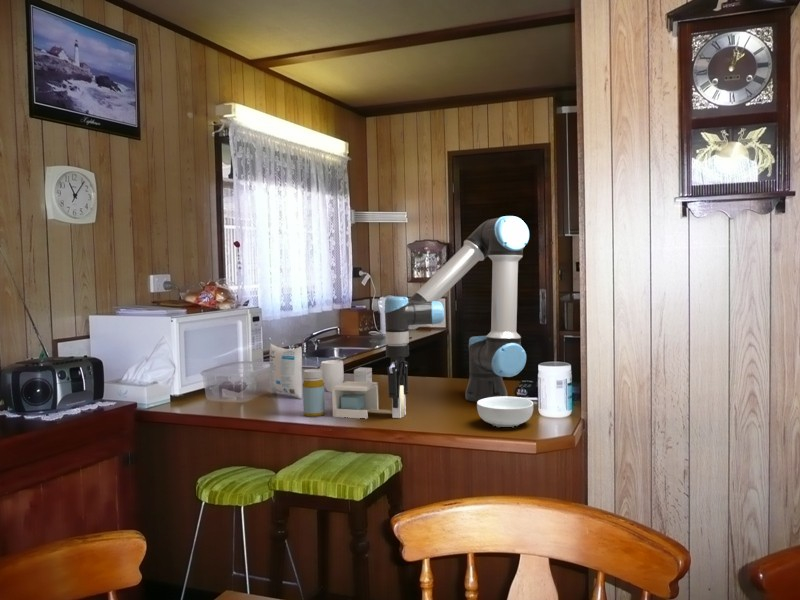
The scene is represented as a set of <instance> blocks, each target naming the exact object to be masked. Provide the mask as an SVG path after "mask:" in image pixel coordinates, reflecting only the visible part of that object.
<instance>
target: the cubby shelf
mask: <svg viewBox="0 0 800 600" xmlns="http://www.w3.org/2000/svg"><path fill="white" fill-rule="evenodd" d="M347 394H361V395H365V409H379V382H375V381H372V382H354V380H352V381H349V380H346V381H343V383H341V384H339V385H336V386H334V387H333V390H332V392H331V399H332V402H331V403H332V417H333V418H344V417H346V419H347V417H348V419H349V418H350V419H360V418H365V419H364V420H367V419H369V416H368V415H369V414H368V413H369V412H368V410H351V409H341V397H343V396H345V395H347Z"/></svg>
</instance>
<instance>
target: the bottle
mask: <svg viewBox="0 0 800 600" xmlns="http://www.w3.org/2000/svg"><path fill="white" fill-rule="evenodd" d="M302 400H303V402H302V403H303V404H302V405H303V406H302V407H303V415H304V416H305V417H307V418H317V417H322V416H324V414H325V411H326V409H325V407H326V406H325V404H326V403H325V385H324V383H323V380H322V370H321V369H319V368H311V369H305V370H303V381H302Z"/></svg>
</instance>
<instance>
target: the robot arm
mask: <svg viewBox="0 0 800 600" xmlns="http://www.w3.org/2000/svg"><path fill="white" fill-rule="evenodd" d="M529 240H530V230H529V227H528V225H527V224H526V223H525V222H524V220H522V218H520V217H518V216H514V215H505V216H500V217H496V218H490V219H487V220H486V221H485V220H484V222H482V223H481V224H480V225H479V226H477V228H476V229H475V230H474V231H473V232H471V234H470V235H469V236H468V237H467V238H466V239H464V241H463V245H462V247H460V249H459V250H458V251H456V252H455V254H453V256H451V257H450V258H449V259H448V261H446V263H445V264H444V265H443V266H441V268H439V270H438V271H436V272H435V274H433V275H432V276H431V277H430V278H429V279H428V281H426V282H425V283H424V284H423V285H422V286H421V287H420V288H419V289H418V290H417V291H416V292H415V293H414V294H412V296H410V297H409V299H408V297H407V296H389V297H386V298H385V300H384V320H385V321H384V322H385V323H384V327H385V333H384V337H385V344H387V345H386V346H385V356H386V357H387V358H390V364H389V366H387V367H386V371H387V381H388V398H390V399H391V407H392V408H391V410H392V414H391V415H392V418H393V419H401V398H399V393H400V385H403V386H404V416H406V414H407V411H406V409H407V408H406V395H409V392H408V390H409V387H408V386H409V385H408V381H409V377H408V376H409V375H408V374H409V373H408V370H409V369H408V368H409V361H406V359H405V358H407V357H409V356H410V345H409V343H410V335H409V334H410V333H409V332H410V330H409V329H410V328H409V327H410V326H419V325H420V326H421V325H432V326H433V325H437V324H439V325H440V324H441V323H442V322H444V317H445V309H444V305H443V303H442V302H440V300H441V298H442V297H444V296H445V294H447V293H448V292H449V291H450V290H451V289H452V288H453V287H454V286H455V285H456V283H458V282H459V281H460V280H461V279H462V278H463V277H464V276H465V275H466V274H467V273H468V272H469V271H470V270H471V269H472V268H473V267H474V266H475V265H476V264H477V263H478V262H481V261H482V262H483V261H484V260H486V258H487V257H488V258H489V259H490V260H491V262H492V268H491V269H492V271H491V273H492V274H491V275H492V276H491V277H492V278H491V316H490V317H491V321H490V322H491V323H490V324H491V325H490V326H491V327H490V332H489V333H488V334H487V335H478V336H471V337H469V340H468V355H469V357H468V359H469V360H468V361H469V362H468V364H469V379H468V383H467V387H466V389H465V391H464V393H465V396H464V397H465V400H466V401H469V402H475V403H477V402H478V401H479V400H481V399H484V398H489V397H500V396H508V391H507V388H506V384H505V382H504V379H503V377H504V378H505V377H506V378H511V377H514V376H517V375H518V374H519V373H521V372H522V370H523V369H524V368H525V366H526V363H527V353H526V351H525V349H524V348H523V347H522V342H521V341H522V336H521V334H519V333H518V332H517V323H518V321H517V320H518V319H517V317H518V316H517V315H518V277H519V276H518V275H519V274H518V273H519V261H520V260H521V259H522V258H523V256H524V252H523V251H524V248H525V246H526V245H528V243H529Z"/></svg>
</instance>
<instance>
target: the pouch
mask: <svg viewBox="0 0 800 600" xmlns="http://www.w3.org/2000/svg"><path fill="white" fill-rule="evenodd" d="M269 392H270V394H271V395H272V394H274V393H286V394H289V395H292V396H295V398H298V399H300V400H303V350H302V346H298V347H296V348H284V347H280V346H276V345H275V344H273V343H270V344H269Z"/></svg>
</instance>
